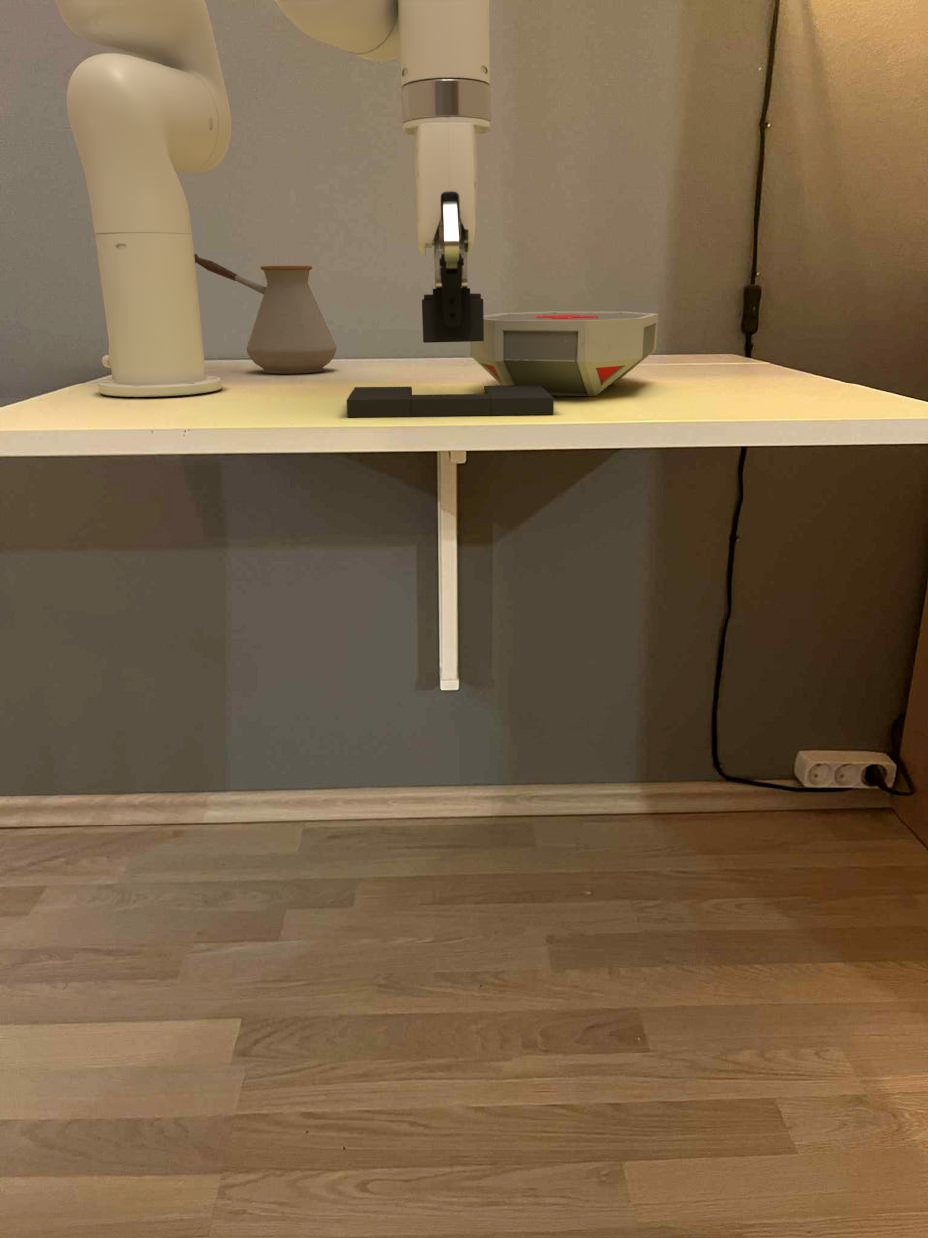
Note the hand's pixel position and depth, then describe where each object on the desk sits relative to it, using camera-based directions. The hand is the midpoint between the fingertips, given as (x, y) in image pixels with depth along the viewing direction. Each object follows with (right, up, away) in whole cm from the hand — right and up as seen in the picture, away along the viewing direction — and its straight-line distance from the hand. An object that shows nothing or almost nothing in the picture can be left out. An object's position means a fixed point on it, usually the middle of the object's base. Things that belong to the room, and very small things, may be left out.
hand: (451, 332), depth 87 cm
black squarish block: (0, -1, 0) cm, 1 cm away
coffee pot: (-26, +6, +38) cm, 47 cm away
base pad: (0, -7, +1) cm, 7 cm away
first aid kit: (+12, -2, +16) cm, 20 cm away
